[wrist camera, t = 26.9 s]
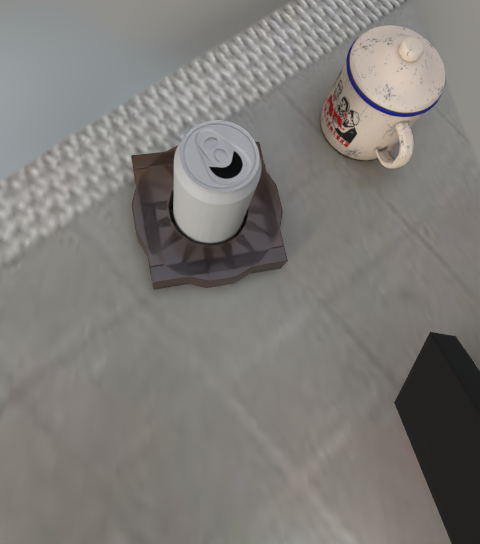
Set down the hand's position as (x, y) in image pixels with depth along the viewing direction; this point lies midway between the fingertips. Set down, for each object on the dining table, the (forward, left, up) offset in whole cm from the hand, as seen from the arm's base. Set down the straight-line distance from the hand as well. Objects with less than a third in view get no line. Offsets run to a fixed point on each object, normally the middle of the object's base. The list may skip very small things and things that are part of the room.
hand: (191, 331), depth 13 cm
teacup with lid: (+20, -23, -28) cm, 42 cm away
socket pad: (+14, -5, -28) cm, 31 cm away
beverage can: (+14, -5, -28) cm, 32 cm away
